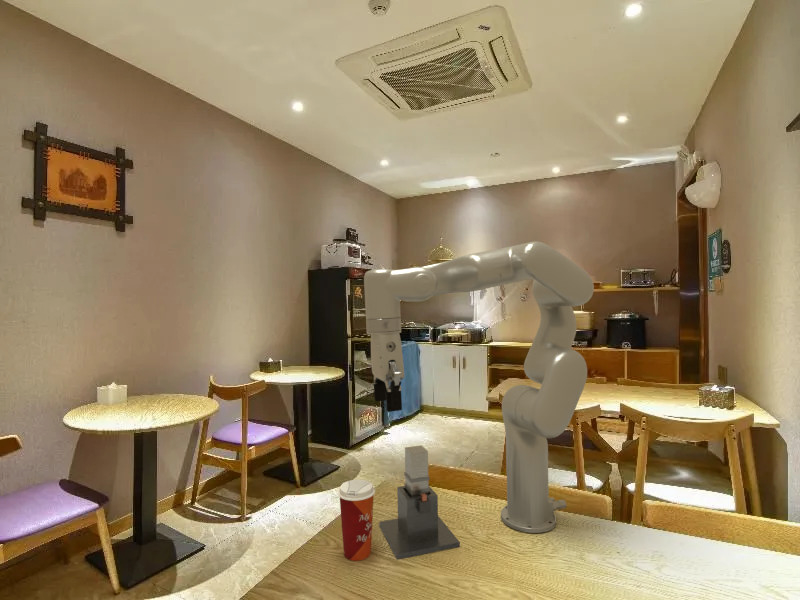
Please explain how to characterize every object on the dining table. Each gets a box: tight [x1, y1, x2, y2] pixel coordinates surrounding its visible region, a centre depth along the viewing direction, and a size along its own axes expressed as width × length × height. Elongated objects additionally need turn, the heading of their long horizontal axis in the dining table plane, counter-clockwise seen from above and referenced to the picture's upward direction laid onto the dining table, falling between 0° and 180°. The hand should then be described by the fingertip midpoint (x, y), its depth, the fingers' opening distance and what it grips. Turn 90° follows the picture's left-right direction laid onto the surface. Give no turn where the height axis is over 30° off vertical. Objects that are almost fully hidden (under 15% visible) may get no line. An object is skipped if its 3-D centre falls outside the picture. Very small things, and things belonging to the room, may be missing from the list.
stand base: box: [378, 484, 461, 560], centre depth 97 cm, size 14×14×11 cm
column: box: [403, 445, 430, 497], centre depth 97 cm, size 4×4×18 cm
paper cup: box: [337, 479, 376, 562], centre depth 91 cm, size 8×8×14 cm
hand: (387, 405), depth 95 cm, fingers open, 9 cm apart
